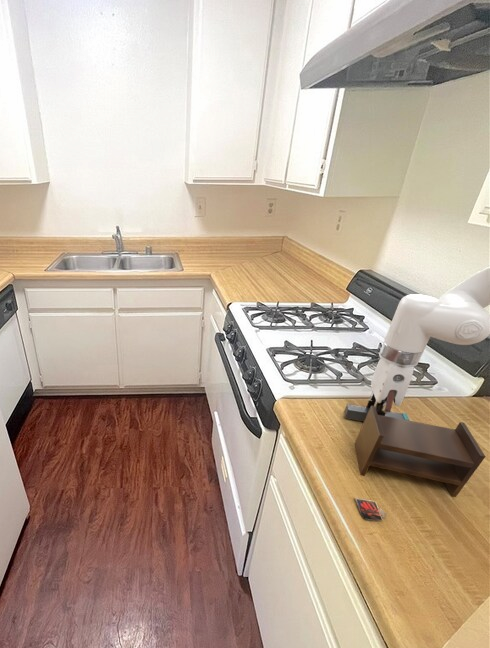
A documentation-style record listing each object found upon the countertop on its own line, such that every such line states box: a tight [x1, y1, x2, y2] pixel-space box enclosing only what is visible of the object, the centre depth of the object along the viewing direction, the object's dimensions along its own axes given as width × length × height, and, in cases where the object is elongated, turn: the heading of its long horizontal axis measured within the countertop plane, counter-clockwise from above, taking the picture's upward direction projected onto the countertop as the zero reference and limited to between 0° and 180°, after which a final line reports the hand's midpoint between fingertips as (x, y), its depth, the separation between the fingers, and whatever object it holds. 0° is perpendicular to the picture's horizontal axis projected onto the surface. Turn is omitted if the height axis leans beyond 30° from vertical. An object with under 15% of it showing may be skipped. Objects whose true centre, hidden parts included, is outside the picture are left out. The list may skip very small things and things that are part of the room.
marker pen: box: [343, 403, 411, 422], centre depth 85 cm, size 13×3×3 cm, turn 72°
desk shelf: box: [354, 406, 486, 498], centre depth 70 cm, size 17×10×11 cm, turn 72°
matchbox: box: [353, 497, 387, 522], centre depth 64 cm, size 5×5×1 cm
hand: (372, 418), depth 85 cm, fingers closed on marker pen, 2 cm apart
